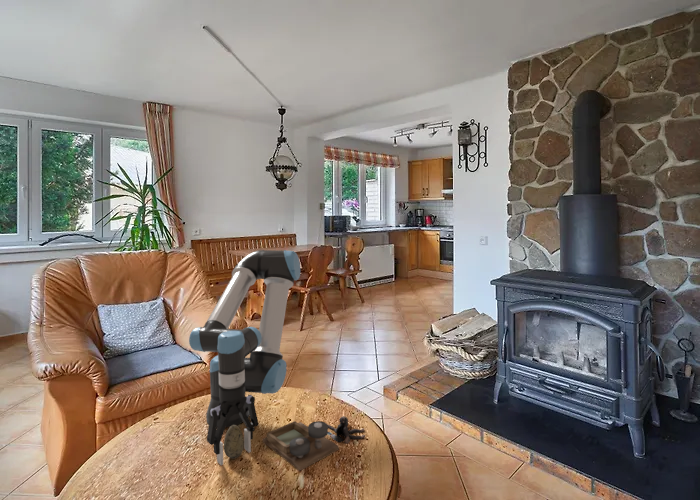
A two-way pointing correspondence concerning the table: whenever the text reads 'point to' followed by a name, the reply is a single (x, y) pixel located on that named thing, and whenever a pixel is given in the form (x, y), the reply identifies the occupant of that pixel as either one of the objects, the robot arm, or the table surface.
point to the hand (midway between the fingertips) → (234, 456)
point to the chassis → (299, 445)
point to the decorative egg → (233, 442)
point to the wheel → (318, 429)
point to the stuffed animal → (344, 431)
